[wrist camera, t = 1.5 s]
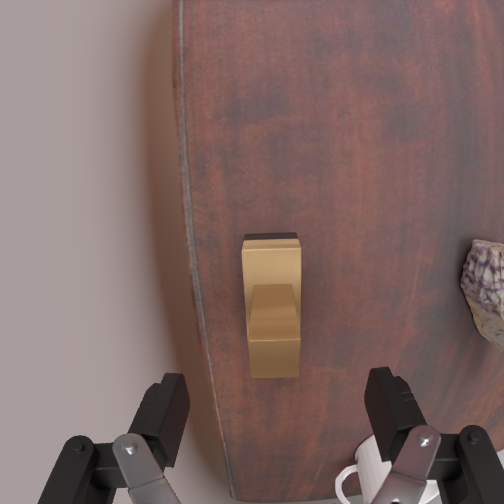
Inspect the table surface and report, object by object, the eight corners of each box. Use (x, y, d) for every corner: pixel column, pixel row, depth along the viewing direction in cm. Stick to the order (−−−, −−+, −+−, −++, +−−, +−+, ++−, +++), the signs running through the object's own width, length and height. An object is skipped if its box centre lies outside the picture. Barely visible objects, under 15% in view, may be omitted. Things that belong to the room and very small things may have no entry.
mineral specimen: (523, 298, 23) (556, 326, 17) (479, 341, 24) (508, 375, 18) (496, 202, 20) (543, 221, 14) (443, 252, 21) (486, 283, 16)
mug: (426, 414, 28) (451, 473, 19) (415, 451, 31) (433, 502, 22) (329, 440, 29) (339, 508, 20) (332, 473, 32) (339, 529, 23)
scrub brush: (245, 234, 22) (230, 296, 13) (296, 232, 22) (316, 293, 13) (250, 319, 24) (242, 408, 15) (295, 318, 24) (308, 406, 15)
